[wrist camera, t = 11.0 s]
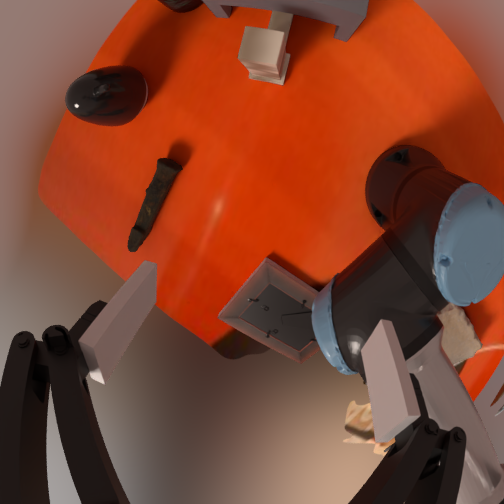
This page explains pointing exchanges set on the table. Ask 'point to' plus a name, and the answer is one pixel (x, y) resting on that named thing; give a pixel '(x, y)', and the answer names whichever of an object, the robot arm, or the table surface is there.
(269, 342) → the picture frame
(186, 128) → the table surface
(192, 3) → the supplement bottle
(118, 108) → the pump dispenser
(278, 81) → the ash-wood pusher
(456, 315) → the flat stone slab
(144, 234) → the hand tool
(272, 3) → the grey step stool
